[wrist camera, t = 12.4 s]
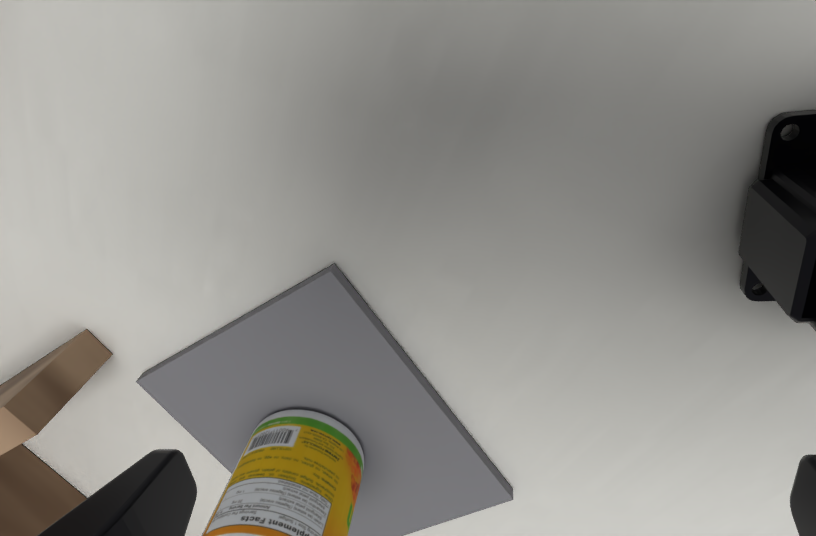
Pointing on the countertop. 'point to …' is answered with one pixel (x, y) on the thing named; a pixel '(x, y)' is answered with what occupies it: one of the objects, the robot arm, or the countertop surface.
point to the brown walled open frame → (23, 419)
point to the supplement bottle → (292, 480)
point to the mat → (333, 403)
